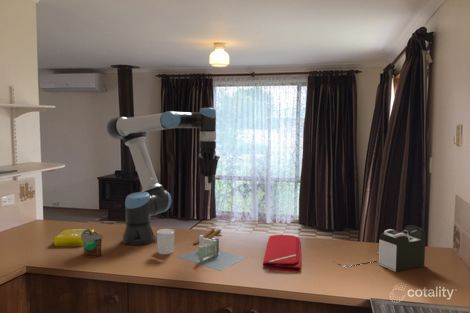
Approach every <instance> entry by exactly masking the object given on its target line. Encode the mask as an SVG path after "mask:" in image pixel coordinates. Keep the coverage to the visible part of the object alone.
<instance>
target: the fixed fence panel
mask: <svg viewBox="0 0 470 313" xmlns="http://www.w3.org/2000/svg"><path fill="white" fill-rule="evenodd" d="M206 238H207V237H206ZM206 238H204V234H201V235H199V238H198V239H199V243H198V245H199V246H204V245H205V246H207V244H210V243H212V241H213V240H216V238H215V237H212V238H211V239H206ZM199 246H198V247H199ZM206 251H207V249H206ZM209 251H210V248H209Z"/></svg>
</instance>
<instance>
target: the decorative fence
mask: <svg viewBox="0 0 470 313" xmlns="http://www.w3.org/2000/svg"><path fill="white" fill-rule="evenodd" d="M221 231H222V229H217V230H215V229H214V228H211V229H210V230H208V231H207V232H205V233H204V234H203V236H204V238H206V239H212V238H214V236H216V237H222V234H219V233H221ZM193 245H195V246H196V245H199V238H198V239H197V240H196V241H194V242H193Z"/></svg>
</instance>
